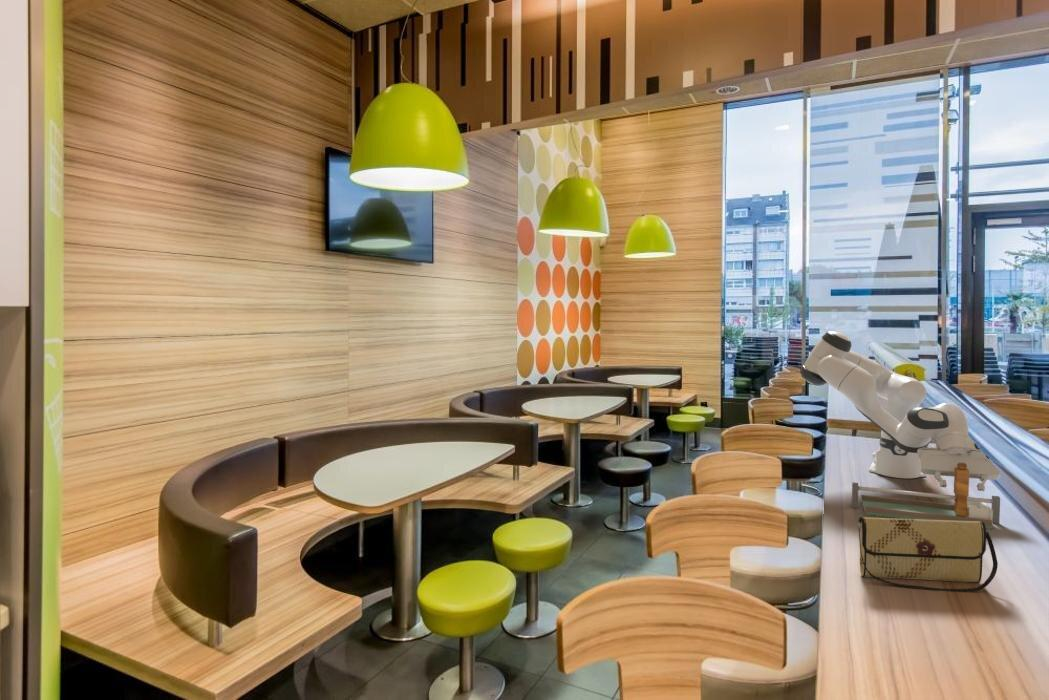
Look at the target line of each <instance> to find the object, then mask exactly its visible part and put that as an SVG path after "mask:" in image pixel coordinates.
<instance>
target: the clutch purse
mask: <svg viewBox="0 0 1049 700" xmlns="http://www.w3.org/2000/svg"><path fill="white" fill-rule="evenodd" d="M858 522H859V523H857V522H855V523H854V527H855V528H856V529H858V537H859V539H858V540H859V541H858V543H859V572H860V575H861V577H862V578H864V577H869V578H871V577H872V578H873V579H875V580H876V581H879V582H882V583H885V584H888V585H892V586H897V587H901V588H909V589H918V590H927V591H936V592H939V591H940V592H955V593H956V592H978V591H981V590H984V589H985V588H986V587H987V586H989V584H990V583H991V582H992V581H993V579H994V578H995V576H996V574H997V571H998V565H999V563H998V559H997V553H996V550H995V546H994V543H993V540H992V538H991V535H990V532H991V529H986V527H985V524H984V522H982V521H953V520H925V519H899V518H890V517H863V516H859V517H858ZM857 526H859V527H857ZM987 530H988V531H987ZM987 544H988V547H989V551H990V555H991V558H992V569H991V572H990V574H989V576H988V577H987V578H986V580H985V581H984V582H983V583H982V584H981V585H979V586H977V587H970V588H940V587H939V588H938V587H929V586H922V585H912V584H904V583H903V584H901V583H897V582H892V581H889V580H885V579H882V578H889V579H890V578H891V579H892V578H893V579H911V580H927V581H928V580H930V581H946V582H947V581H949V582H950V581H951V582H966V583H967V582H970V583H976V584H977V583H978V584H979V583H980V582H981V581H982V577H983V576H982V574H983V556H984V554H985V552H986V549H987Z"/></svg>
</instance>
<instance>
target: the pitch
mask: <svg viewBox="0 0 1049 700" xmlns="http://www.w3.org/2000/svg"><path fill="white" fill-rule="evenodd" d="M851 485H852V486H851V508H853V509H859V491H863V492H874V493H884V494H885V493H886V494H894V495H905V496H915V497H925V498H933V499H934V498H935V499H943V500H945V499H946V500H957V496H955V495H953V494H942V493H941V494H940V493H933V492H922V491H910V490H900V489H891V488H882V487H881V488H878V487H869V486H861V485H860V486H859V482H854V481H853V482H852V483H851ZM860 496H861V498H860V501H861V502H862V503H861V504H862V508H863V511H864V514H865V515H866V516H873V515H875V516H874V517H882V516H884V517H883V518H890V517H891V518H897V519H925V520H953V521H982V522H984V524H985V527H986V528H987V529H989V530H992V529H993V524H995V525H1000V516H1001V515H1000V514H1001V513H1000V511H1001V497H1000V496H997V495H991V498H984V497H972V496H968V497H967V506H969V505H974V506H976V507H978V508H969V516H968V515H967V516H958V515H957V514H956V513H955V512H954V503H946V502H945V503H944V502H936V501H935V502H934V501H928V500H927V501H925V500H916V499H907V498H906V499H905V498H897V497H886V496H877V495H876V496H875V495H868V494H866V495H865V494H861V495H860ZM988 504H991V507H990V506H989V505H988ZM987 529H986V530H987Z"/></svg>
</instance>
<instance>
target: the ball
mask: <svg viewBox="0 0 1049 700" xmlns="http://www.w3.org/2000/svg"><path fill="white" fill-rule="evenodd" d="M969 508H978V507H976V506H974V505H969V506H967V515H968V516H969Z"/></svg>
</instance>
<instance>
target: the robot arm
mask: <svg viewBox="0 0 1049 700" xmlns="http://www.w3.org/2000/svg"><path fill="white" fill-rule="evenodd" d="M851 347H852V341H851V339H849V337H848V336H847V335H845V334H844V333H842V332H840V331H834V330H829V331H827V332H826V333H824V334H823V335H822V336H821V338H820V339H819V341H818V342H817V343H816V344H815V346H814V347H813V348H812V350H811V352H810V354H809V355H808V357H807V359H806V360H805V362H804V364H803V365H802V366H801V368H800V375H801V377H802V378H803V379H804V380H805V381H806V382H807V383H809V384H811V385H814V386H824V385H826V384H829V385H830V386H831V387H832V388H834V389H835V390H837V391H838V392H839V393H841V394H843V395H844V396H845V397H846V398H847V399H848V400H849V401H850V402H851V403H852V404H853V405H854V407H855V408H856V410H857V411H858V412H859V413H861V414H862V415H863V417H865V418H866V419H868V420H869V421H870V422H871V423H872V424H874V425H875V426H876V427H877V428H878V429H880V431H881V433H880V434H881V436H880V437H879V448H878V449H877V450H876V451H875V452H872V459H874V460H873V461H872V463H871V465H870V467H869V470H868V471H869V472H870V473H874V474H879V475H880V476H881V475H882V476H885V477H889V478H897V479H916V478H923V477H927V475H931V476H932V475H933V477H934V479H935V480H936V481H937V482H938V483H939V487H940V488H947V486H948V485H947V480H946V479H943V478H942V477H941V476H943V477H944V476H945V477H953V478H954V468H955V467H957V464H958V463H959V462H964V463H966V465H967V469H968V470H969V479H977V480H979V481H980V482H978V483H977V485H976V489H977V491H980V492H985V490H986V485H985V484H986V482H987V481H998V479H999V478H1000V476H1001V473H1002V471H1001V472H1000V471H999V470H998V469H997V468H996V467H995V465H993V463H992V462H991V461H990V460H989V459H988V458H987V457H986V456H985V455H984V454H983V453H982V452H981V451H980V449H979V448H978V447H977V445H976V444H975V442H976V441H975V442H974V440H973V439H971V437H970V436H969V431H968V430H969V426H968V421H967V418H966V415H965V414H964V411H963V410H962V409H961V408H960V407H959V406H958V405H956V404H953V403H947V402H946V403H940V404H937V405H935V406H931V407H924V406H921V404H922V402H923V401H925V399H926V398H927V397H926V396H927V389H926V387H925V385H924V384H923V383H922V382H920V381H919V380H918V379H916V378H915V377H910V376H907V375H903V374H900V373H897V372H894V371H893V370H891V369H889V368H887V367H885V366H884V365H882V364H880V363H879V362H877V361H875V360H873V359H870V358H868V357H867V356H864V355H862V354H860V353H859V352H856V351H854V350H851ZM878 397H880V398H882V399H884V400H886V401H887V405H886V408H885V409H884V408H883V407H882V406H881V404H880V402H879V400H878ZM932 439H933V440H936V443H937V447H929V444H930V442H931V440H932ZM957 468H958V467H957Z"/></svg>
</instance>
